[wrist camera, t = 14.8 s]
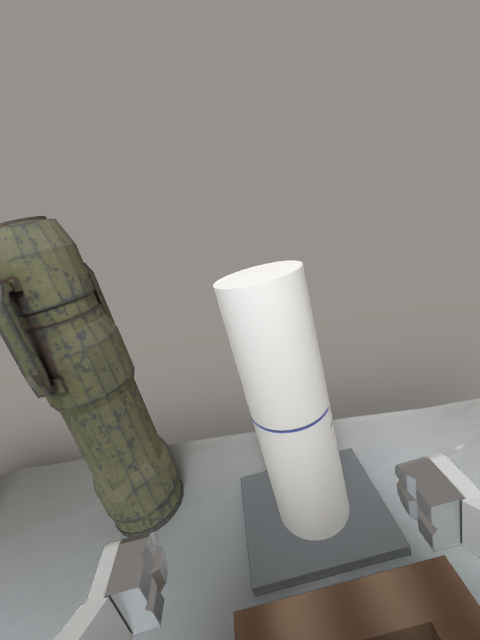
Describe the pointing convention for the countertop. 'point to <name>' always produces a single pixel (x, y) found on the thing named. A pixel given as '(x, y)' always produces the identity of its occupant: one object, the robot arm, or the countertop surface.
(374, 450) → the countertop surface
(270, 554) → the rubber mat
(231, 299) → the cylindrical container
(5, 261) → the thermos
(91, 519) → the countertop surface
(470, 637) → the pocket block
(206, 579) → the countertop surface
